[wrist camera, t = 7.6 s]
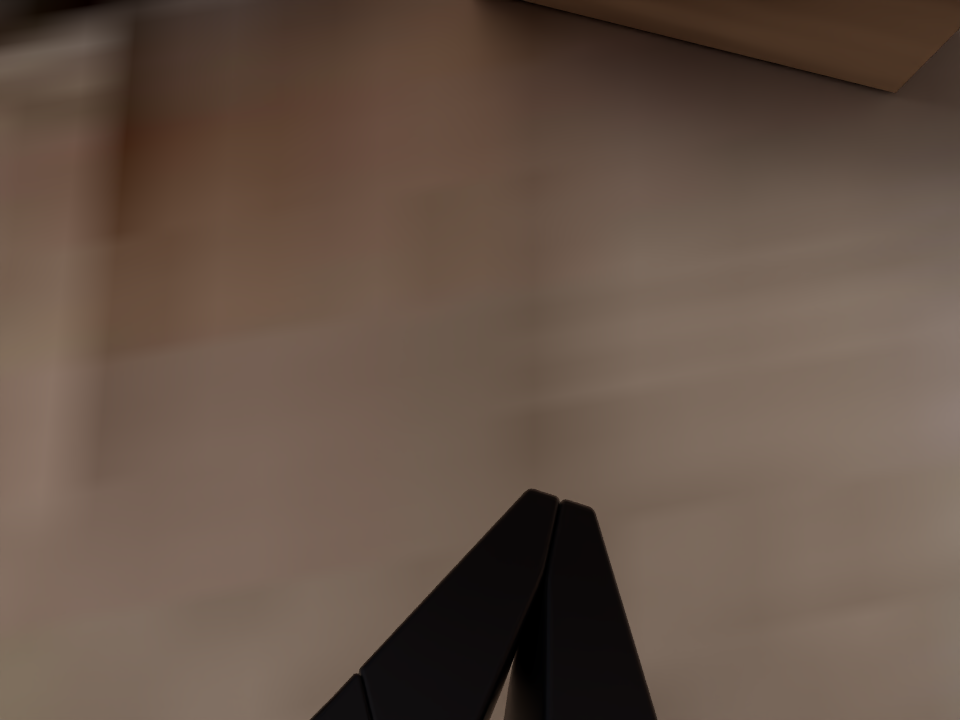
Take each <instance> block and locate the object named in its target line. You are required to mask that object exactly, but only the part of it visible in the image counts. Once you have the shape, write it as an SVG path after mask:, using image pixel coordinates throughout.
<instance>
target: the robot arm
mask: <svg viewBox="0 0 960 720" xmlns="http://www.w3.org/2000/svg"><path fill="white" fill-rule="evenodd" d="M559 503H560V504H559ZM514 656H515V657H514ZM513 659H514V661H513ZM512 662H513V665H512V670H511V676H510V682H509V688H508V695H507V702H506V709H505V716H504V720H657V716H656V713H655V710H654V706H653V703H652V700H651V696H650V693H649V690H648V686H647V683H646V680H645V676H644V673H643V670H642V666H641V663H640V660H639V656H638V653H637V650H636V646H635V643H634V640H633V636H632V633H631V630H630V626H629V623H628V620H627V616H626V613H625V610H624V606H623V603H622V600H621V597H620V593H619V590H618V587H617V583H616V580H615V577H614V573H613V570H612V567H611V563H610V560H609V557H608V553H607V550H606V547H605V543H604V540H603V537H602V533H601V530H600V527H599V523H598V520H597V517H596V514H595V512H594V510H593V509H592V508H591V507H589V506H586V505H582V504H579V503H576V502H573V501H570V500H566V499H565V500H562V501H561V502H560V501H559V498H558V497H557V496H554V495H551V494H548V493H545V492H542V491H539V490H535V489H528V490H527V491H525V492H524V493H523V494H522V496H521V497H520V498H519V499H518V500H517V501H516V502H515V503H514V504H513V505H512V506H511V507H510V508H509V509H508V511H507V512H506V513H505V514H504V515H503V516H502V517H501V518H500V519H499V520H498V521H497V522H496V523H495V524H494V525H493V527H492V528H491V529H490V530H489V531H488V532H487V533H486V534H485V535H484V536H483V537H482V538H481V539H480V540H479V542H478V543H477V544H476V545H475V546H474V547H473V548H472V549H471V550H470V551H469V552H468V553H467V554H466V555H465V556H464V558H463V559H462V560H461V561H460V562H459V563H458V564H457V565H456V566H455V567H454V568H453V569H452V570H451V571H450V573H449V574H448V575H447V576H446V577H445V578H444V579H443V580H442V581H441V582H440V583H439V584H438V585H437V586H436V587H435V589H434V590H433V591H432V592H431V593H430V594H429V595H428V596H427V597H426V598H425V599H424V600H423V601H422V602H421V604H420V605H419V606H418V607H417V608H416V609H415V610H414V611H413V612H412V613H411V614H410V615H409V616H408V617H407V618H406V620H405V621H404V622H403V623H402V624H401V625H400V626H399V627H398V628H397V629H396V630H395V631H394V632H393V633H392V635H391V636H390V637H389V638H388V639H387V640H386V641H385V642H384V643H383V644H382V645H381V646H380V647H379V648H378V649H377V651H376V652H375V653H374V654H373V655H372V656H371V657H370V658H369V659H368V660H367V661H366V662H365V663H364V664H363V666H362V667H361V668H360V669H359V674H357V673H356V674H354V675H353V676H352V677H351V678H350V679H349V680H348V681H347V682H346V683H345V684H344V685H343V686H342V687H341V688H340V690H339V691H338V692H337V693H336V694H335V695H334V696H333V697H332V698H331V699H330V700H329V701H328V702H327V703H326V704H325V705H324V706H323V707H322V708H321V709H320V710H319V711H318V712H317V713H316V714H315V715H314V716H313V717H312V718H311V719H310V720H490V718H491V715H492V713H493V710H494V708H495V705H496V703H497V700H498V698H499V696H500V693H501V691H502V688H503V686H504V683H505V680H506V678H507V675H508V672H509V670H510V667H511V664H512Z"/></svg>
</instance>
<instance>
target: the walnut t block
mask: <svg viewBox="0 0 960 720" xmlns="http://www.w3.org/2000/svg"><path fill="white" fill-rule="evenodd" d="M523 1H527V2H531V3H536V4H540V5H544V6H548V7H552V8H556V9H560V10H564V11H568V12H572V13H576V14H580V15H584V16H588V17H592V18H596V19H600V20H604V21H608V22H612V23H616V24H620V25H624V26H628V27H632V28H636V29H640V30H644V31H648V32H652V33H656V34H660V35H664V36H668V37H672V38H676V39H680V40H684V41H688V42H692V43H696V44H700V45H704V46H708V47H713V48H717V49H721V50H725V51H729V52H733V53H737V54H741V55H745V56H749V57H753V58H757V59H761V60H765V61H769V62H773V63H777V64H781V65H785V66H789V67H793V68H797V69H801V70H805V71H809V72H813V73H817V74H821V75H825V76H829V77H833V78H837V79H841V80H845V81H849V82H853V83H857V84H861V85H865V86H869V87H873V88H877V89H881V90H885V91H890V92H894V93H896V92H897V91H898V90H899V89H900V88H901V87H902V86H903V85H904V84H905V83H906V82H907V81H908V80H909V79H910V78H911V77H912V76H913V75H914V74H915V73H916V72H917V71H918V70H919V69H920V68H921V67H922V66H923V65H924V64H925V63H926V62H927V61H928V60H929V59H930V58H931V57H932V56H933V55H934V54H935V53H936V52H937V51H938V50H939V49H940V47H941V46H942V45H943V44H944V43H945V42H946V41H947V40H948V39H949V38H950V37H951V36H952V35H953V34H954V33H955V32H956V31H957V30H958V29H959V28H960V0H523Z"/></svg>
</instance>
